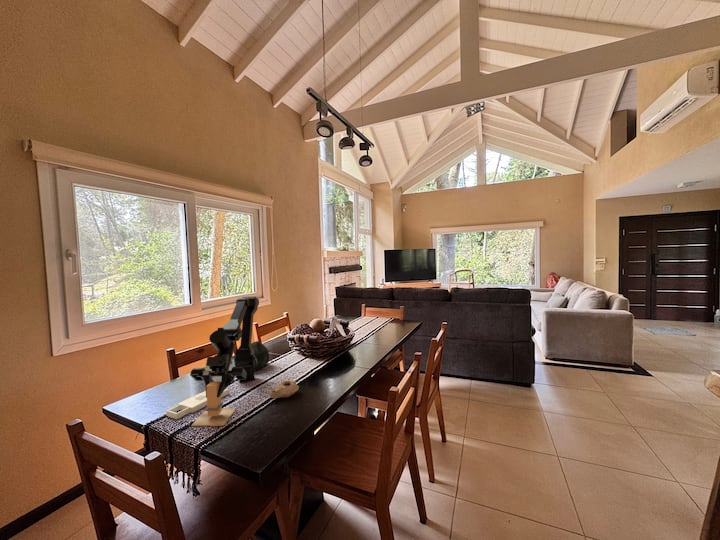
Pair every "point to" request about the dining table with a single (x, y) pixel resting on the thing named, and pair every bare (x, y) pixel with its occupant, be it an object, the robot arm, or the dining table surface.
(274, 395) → the pottery oil lamp
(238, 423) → the dining table surface
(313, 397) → the dining table surface
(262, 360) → the squash
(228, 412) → the cork mat
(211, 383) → the tan tall block
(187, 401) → the power strip
